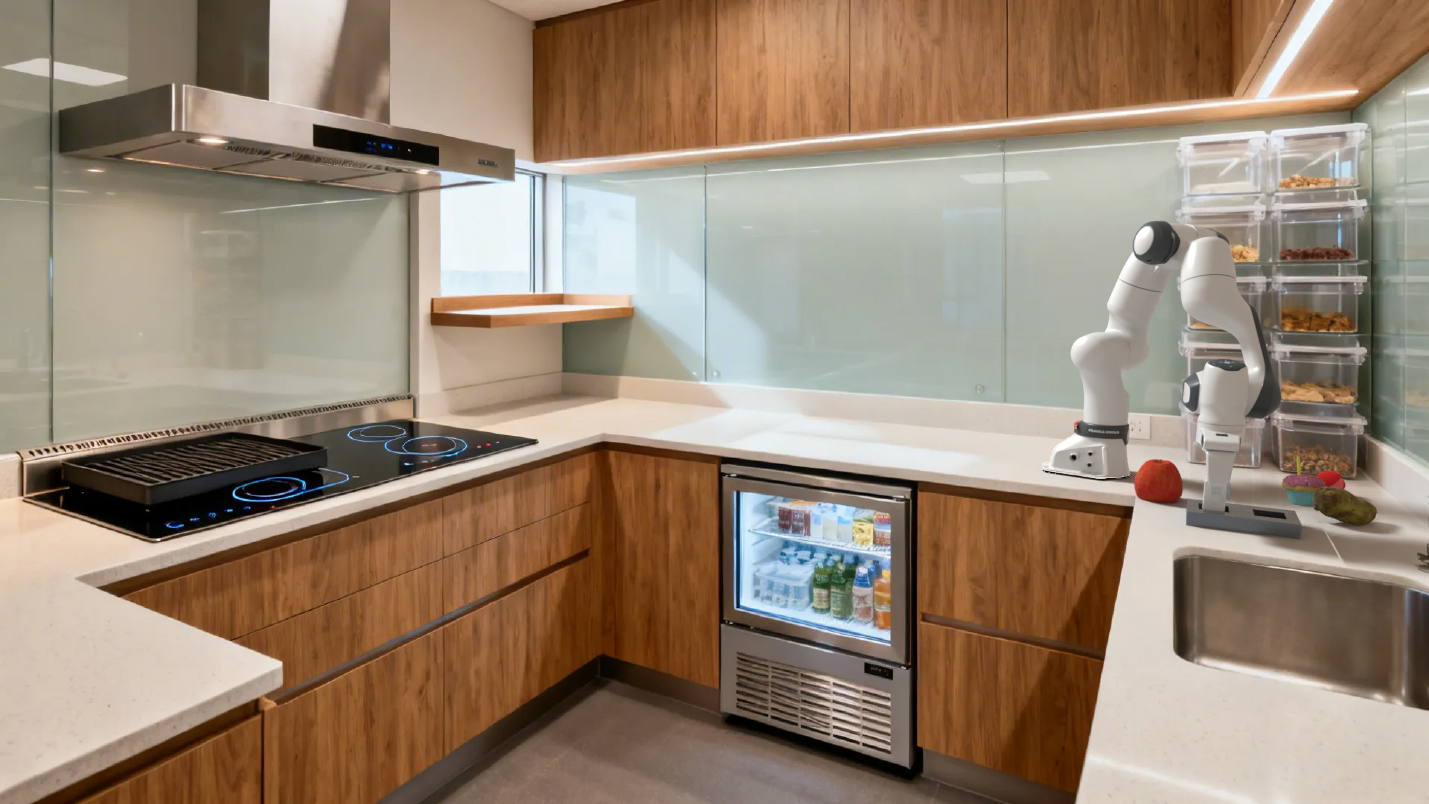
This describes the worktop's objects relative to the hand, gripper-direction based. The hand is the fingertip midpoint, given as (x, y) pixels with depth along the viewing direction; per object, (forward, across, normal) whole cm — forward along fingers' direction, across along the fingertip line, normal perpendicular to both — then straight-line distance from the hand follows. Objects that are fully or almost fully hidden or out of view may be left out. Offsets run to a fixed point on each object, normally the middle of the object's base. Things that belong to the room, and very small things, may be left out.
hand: (1214, 498), depth 175 cm
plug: (+5, 0, 0) cm, 5 cm away
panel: (+6, 0, +5) cm, 8 cm away
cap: (+6, -42, +25) cm, 49 cm away
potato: (+6, -15, +25) cm, 30 cm away
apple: (+6, -15, -11) cm, 20 cm away
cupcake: (+6, -30, +19) cm, 36 cm away
